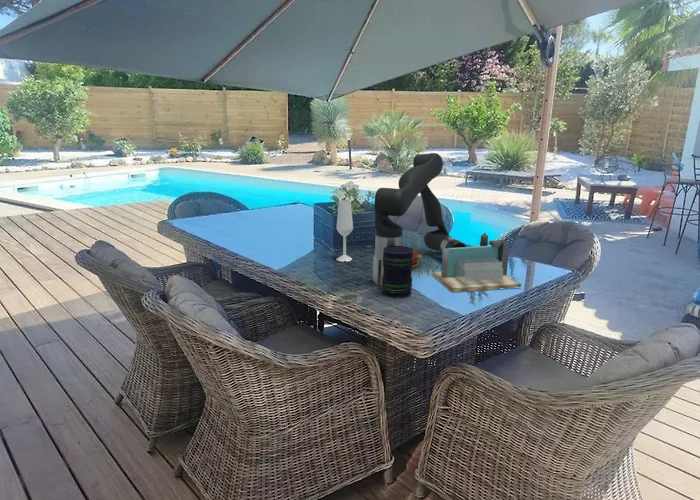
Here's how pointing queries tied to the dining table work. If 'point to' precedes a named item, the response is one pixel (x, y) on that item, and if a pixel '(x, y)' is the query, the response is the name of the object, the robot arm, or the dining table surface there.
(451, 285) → the mounting board
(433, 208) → the robot arm
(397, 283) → the storage jar
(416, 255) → the hamburger
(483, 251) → the teal upright panel
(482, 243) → the chess piece
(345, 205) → the champagne flute
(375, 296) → the dining table surface
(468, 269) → the cooler block
